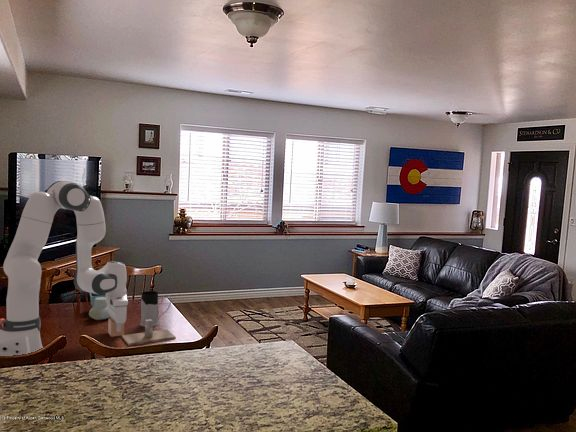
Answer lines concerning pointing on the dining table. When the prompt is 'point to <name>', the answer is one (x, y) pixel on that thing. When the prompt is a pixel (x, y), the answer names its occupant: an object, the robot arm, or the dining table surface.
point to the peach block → (114, 328)
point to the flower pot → (93, 296)
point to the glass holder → (150, 307)
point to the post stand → (148, 335)
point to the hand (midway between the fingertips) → (116, 328)
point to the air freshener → (99, 309)
